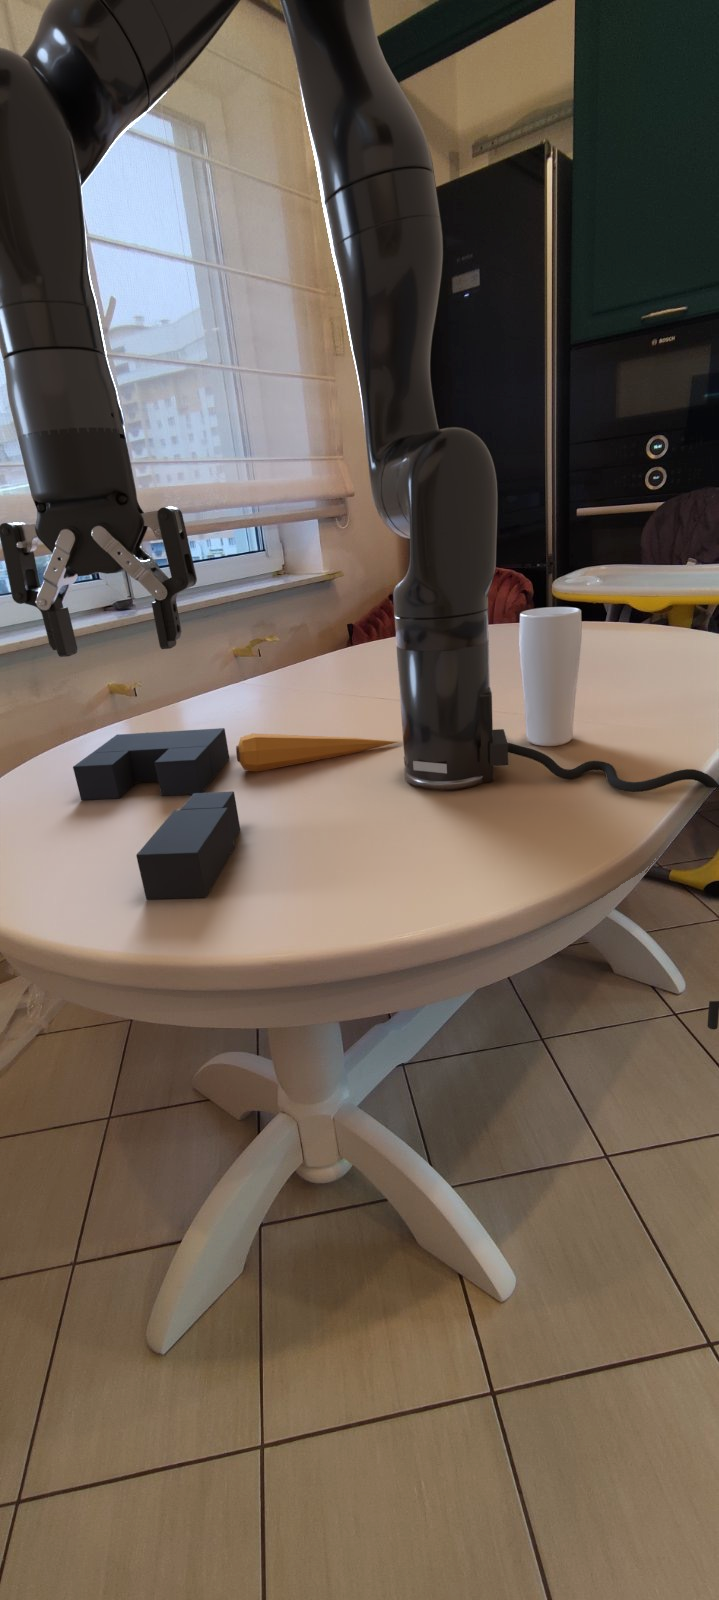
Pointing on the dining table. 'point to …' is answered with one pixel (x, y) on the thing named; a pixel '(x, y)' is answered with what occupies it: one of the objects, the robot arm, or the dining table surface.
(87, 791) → the dark grey u-shaped block
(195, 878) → the black rectangular block
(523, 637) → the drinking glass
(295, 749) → the carrot
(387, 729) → the dining table surface
